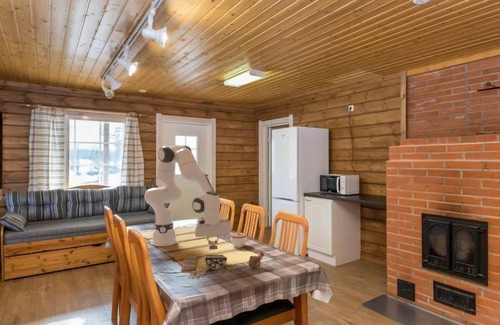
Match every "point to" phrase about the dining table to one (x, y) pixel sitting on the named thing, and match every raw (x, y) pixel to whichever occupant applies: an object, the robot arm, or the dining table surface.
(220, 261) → the food container
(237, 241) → the lidded jar
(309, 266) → the dining table surface
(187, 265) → the wooden board
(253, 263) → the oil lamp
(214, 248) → the turner
